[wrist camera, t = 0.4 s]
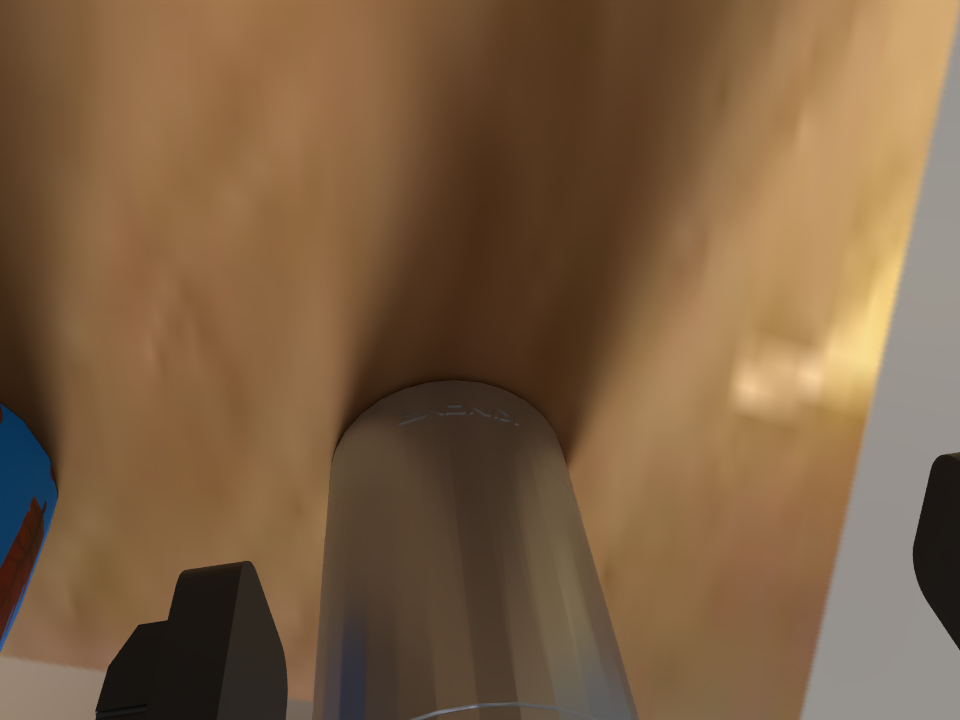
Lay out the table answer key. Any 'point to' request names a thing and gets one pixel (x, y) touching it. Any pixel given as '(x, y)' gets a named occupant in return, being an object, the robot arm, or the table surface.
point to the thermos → (21, 512)
